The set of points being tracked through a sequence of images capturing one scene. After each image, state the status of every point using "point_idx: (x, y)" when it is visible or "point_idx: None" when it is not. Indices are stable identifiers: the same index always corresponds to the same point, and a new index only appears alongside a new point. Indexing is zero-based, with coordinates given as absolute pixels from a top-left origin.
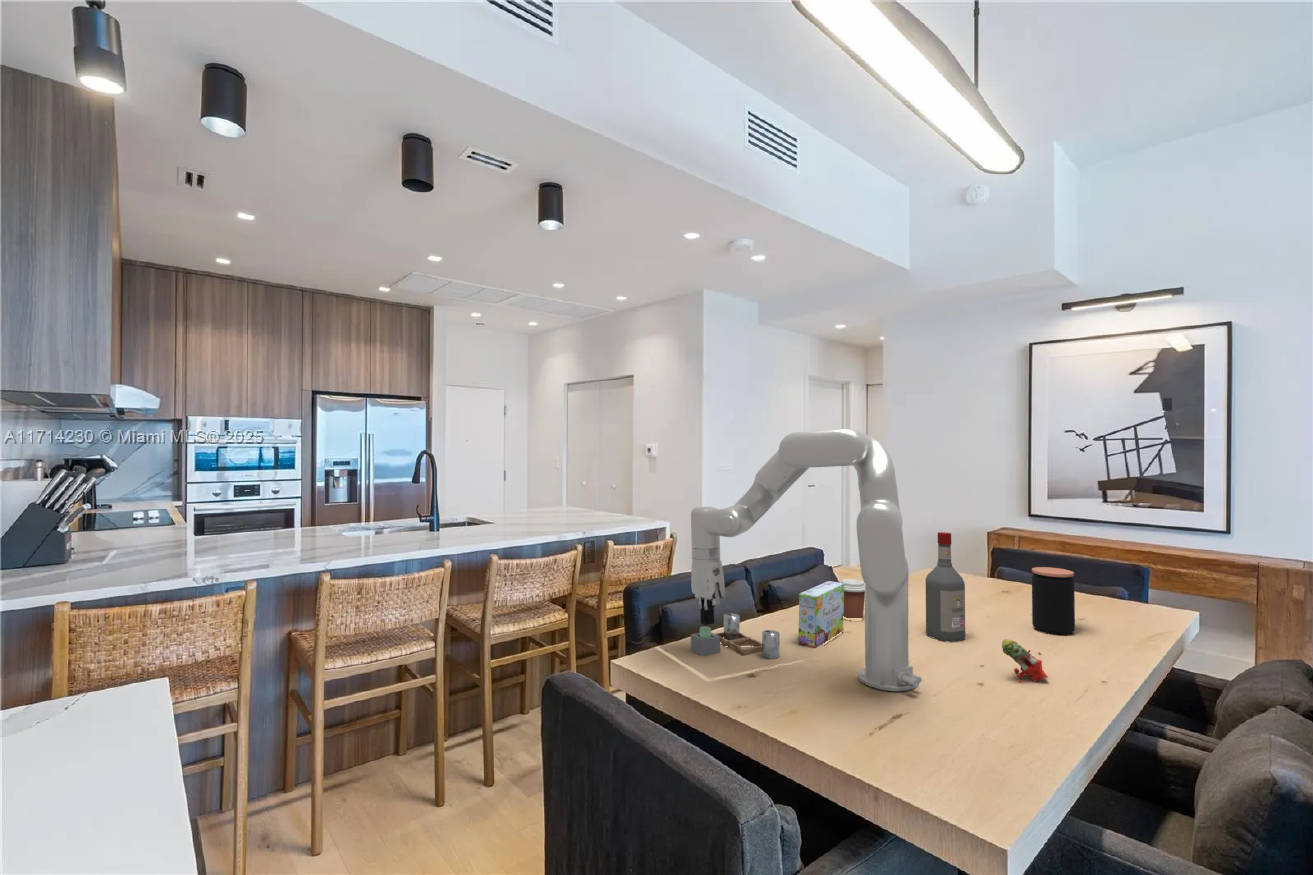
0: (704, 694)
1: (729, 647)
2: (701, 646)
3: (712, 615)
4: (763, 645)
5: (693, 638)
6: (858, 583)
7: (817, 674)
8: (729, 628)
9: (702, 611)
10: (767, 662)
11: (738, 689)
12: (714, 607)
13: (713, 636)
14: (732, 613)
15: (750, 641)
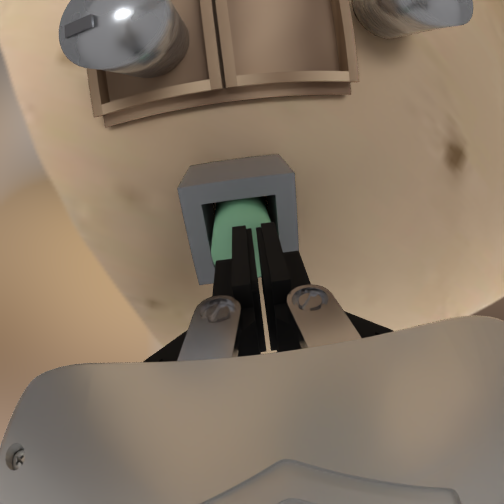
0: (455, 304)
1: (235, 88)
2: None
3: (304, 271)
4: (414, 29)
5: None
6: None
7: (494, 11)
8: (164, 53)
9: (265, 344)
10: None
11: (482, 234)
12: (330, 298)
13: (261, 195)
14: (69, 2)
15: None
